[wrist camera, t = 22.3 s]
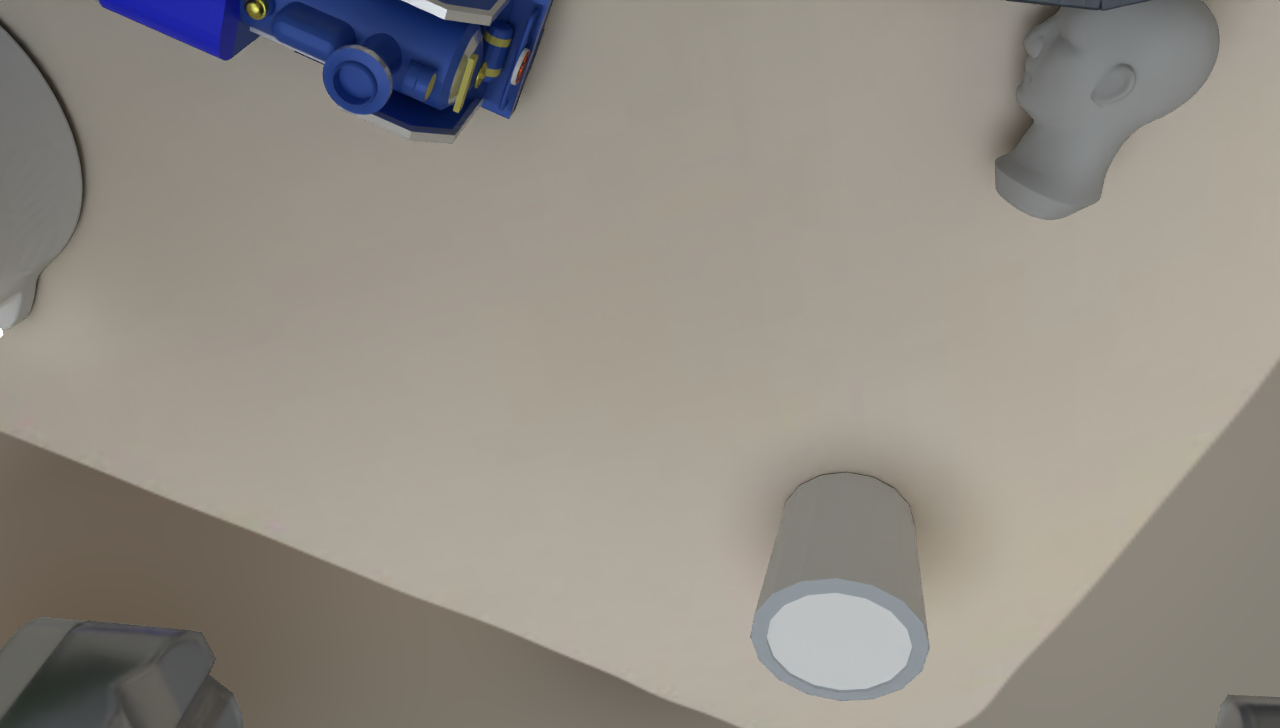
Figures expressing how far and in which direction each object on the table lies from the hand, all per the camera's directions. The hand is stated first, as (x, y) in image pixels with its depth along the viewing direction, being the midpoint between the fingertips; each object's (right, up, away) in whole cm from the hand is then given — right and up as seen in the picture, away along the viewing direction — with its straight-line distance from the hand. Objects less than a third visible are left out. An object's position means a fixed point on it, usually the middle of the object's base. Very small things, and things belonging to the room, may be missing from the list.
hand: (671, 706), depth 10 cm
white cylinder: (+9, -4, +42) cm, 44 cm away
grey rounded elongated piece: (+14, +12, +29) cm, 35 cm away
